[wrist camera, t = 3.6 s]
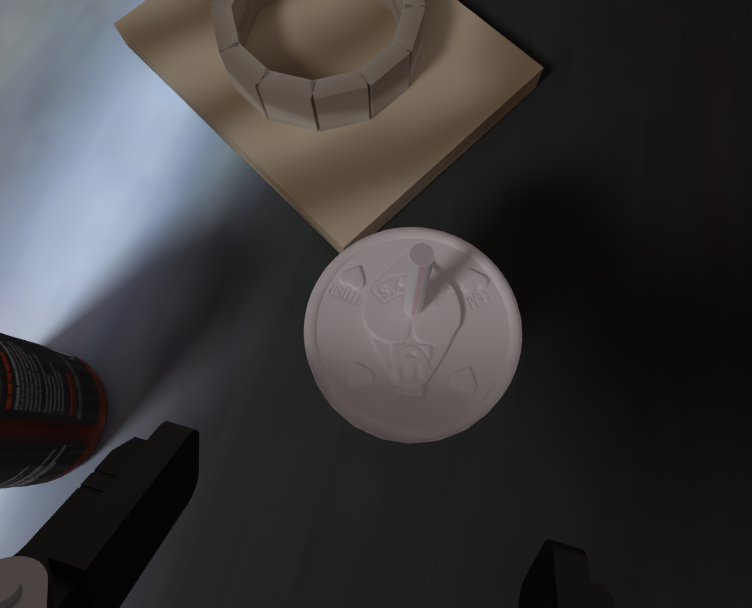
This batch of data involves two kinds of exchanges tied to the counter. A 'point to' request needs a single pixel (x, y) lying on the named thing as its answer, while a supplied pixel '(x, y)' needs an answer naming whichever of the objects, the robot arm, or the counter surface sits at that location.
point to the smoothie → (412, 334)
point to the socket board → (328, 49)
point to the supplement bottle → (45, 412)
